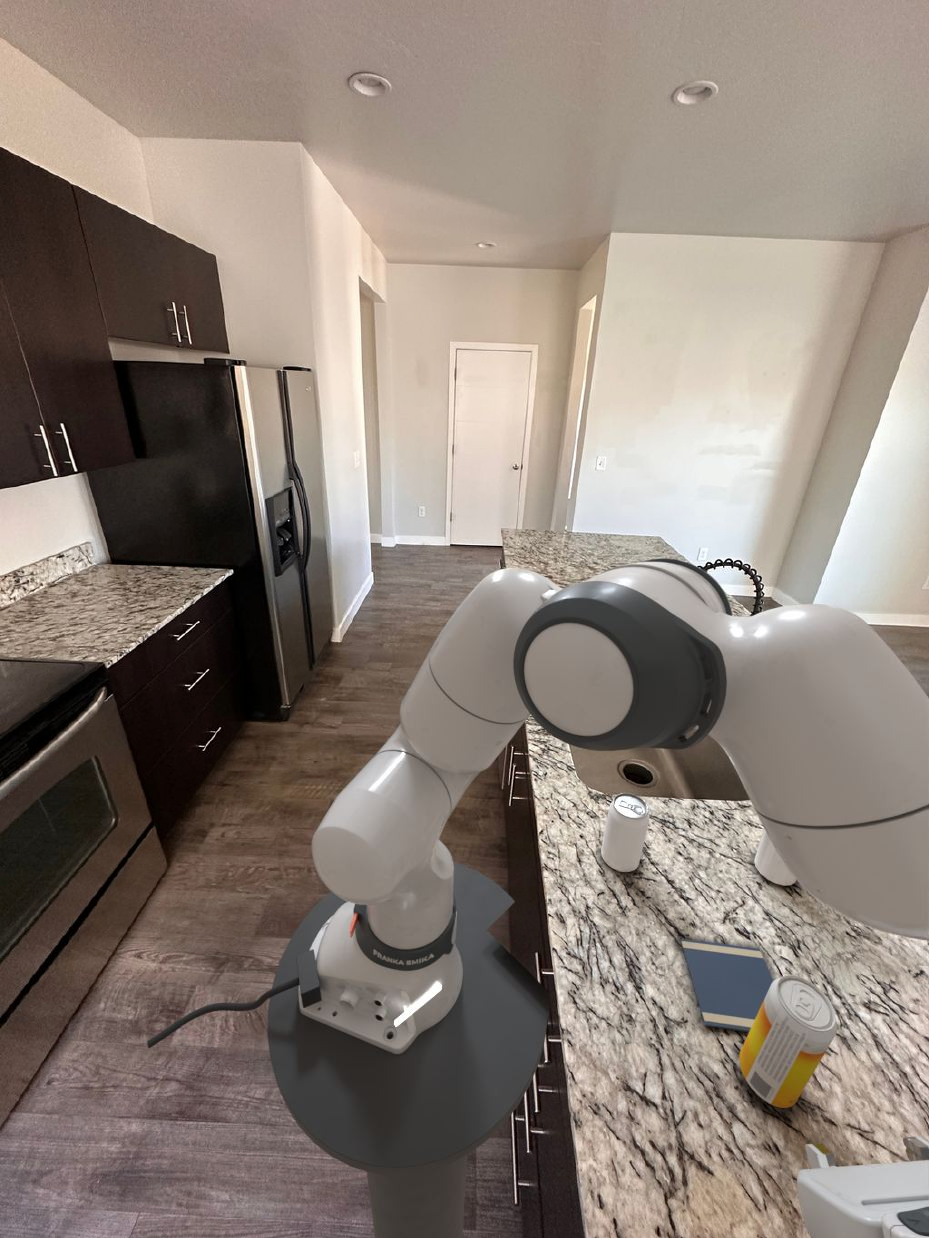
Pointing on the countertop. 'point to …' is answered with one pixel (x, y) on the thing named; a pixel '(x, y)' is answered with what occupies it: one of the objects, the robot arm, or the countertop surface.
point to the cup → (772, 863)
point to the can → (625, 832)
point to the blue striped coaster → (727, 983)
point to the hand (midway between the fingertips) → (863, 1150)
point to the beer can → (787, 1040)
